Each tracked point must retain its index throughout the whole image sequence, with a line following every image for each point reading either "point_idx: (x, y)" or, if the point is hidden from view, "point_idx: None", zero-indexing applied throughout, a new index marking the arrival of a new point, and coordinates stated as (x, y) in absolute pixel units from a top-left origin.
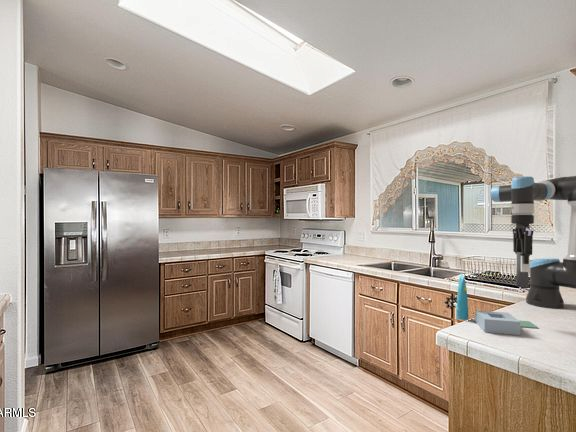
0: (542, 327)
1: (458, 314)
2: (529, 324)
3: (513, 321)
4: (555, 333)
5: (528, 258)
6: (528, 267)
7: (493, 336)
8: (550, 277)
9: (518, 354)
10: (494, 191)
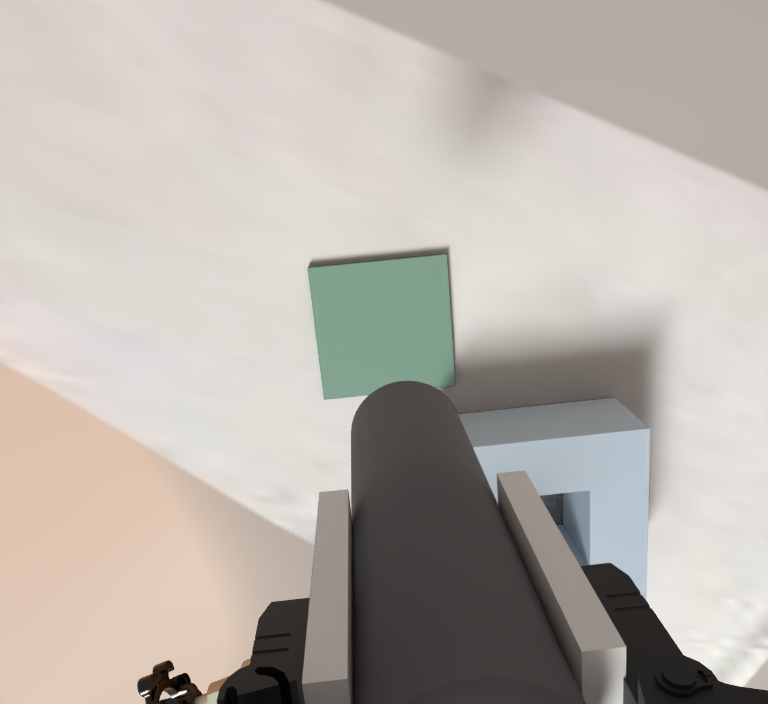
0: (407, 218)
1: None
2: (392, 291)
3: (649, 465)
4: (518, 180)
5: (671, 639)
6: (547, 516)
7: (672, 533)
8: None
9: None
10: None
